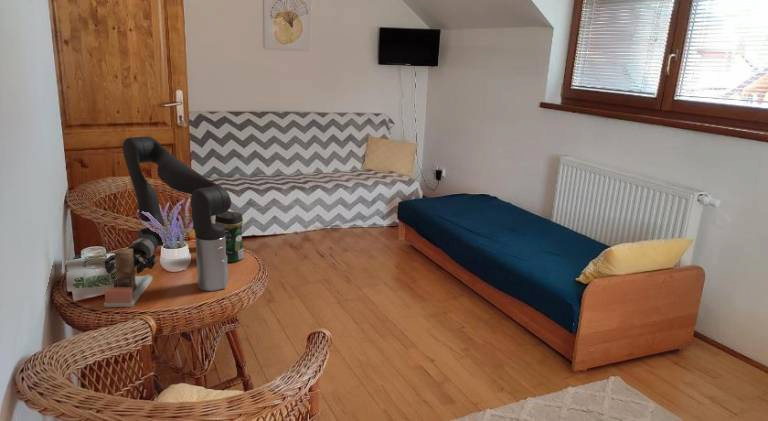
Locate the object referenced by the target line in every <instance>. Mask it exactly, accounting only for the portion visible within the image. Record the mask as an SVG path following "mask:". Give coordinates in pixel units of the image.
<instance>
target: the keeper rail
mask: <svg viewBox="0 0 768 421" xmlns="http://www.w3.org/2000/svg"><path fill="white" fill-rule="evenodd" d="M152 281H153V275H150V273H149V274H145V275H135V283H136V284H137V287H136V289H135V290H134V291H133V287H124V286H123V287H114V286H113V287H112V286H107V288H106V289H105V290H104V298H105V301H104V303H103V307H104V308H112V307H113V308H117V307H118V308H120V307H121V308H122V307H123V308H126V307H127V308H128V307H134V306H135V303H136V302H137V301H138V300H139V298H140V297H141V295H143V294H144V292H145V291H146V289H147V288H148V286H149V285H150V283H151V282H152Z"/></svg>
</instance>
